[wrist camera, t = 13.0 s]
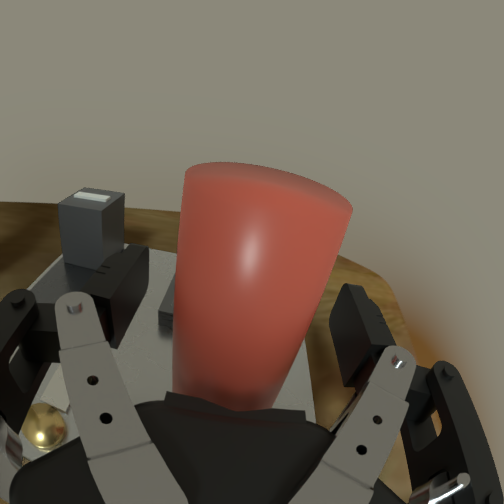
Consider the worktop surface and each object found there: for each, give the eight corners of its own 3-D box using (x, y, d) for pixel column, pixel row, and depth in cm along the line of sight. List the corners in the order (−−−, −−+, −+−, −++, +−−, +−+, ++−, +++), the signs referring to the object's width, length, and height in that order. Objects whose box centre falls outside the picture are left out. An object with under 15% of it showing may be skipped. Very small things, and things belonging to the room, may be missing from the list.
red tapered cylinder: (164, 438, 11) (161, 193, 6) (181, 365, 15) (203, 155, 10) (264, 453, 11) (377, 236, 6) (264, 379, 15) (331, 181, 10)
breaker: (63, 262, 20) (57, 201, 18) (86, 240, 23) (84, 185, 21) (104, 272, 20) (101, 208, 18) (124, 248, 24) (124, 190, 21)
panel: (-51, 402, 7) (-66, 382, 6) (83, 240, 25) (82, 223, 24) (320, 522, 8) (337, 515, 7) (292, 280, 26) (297, 263, 25)
